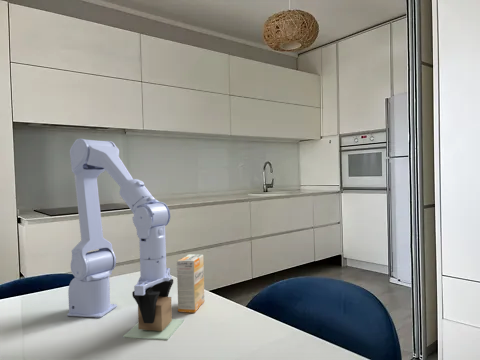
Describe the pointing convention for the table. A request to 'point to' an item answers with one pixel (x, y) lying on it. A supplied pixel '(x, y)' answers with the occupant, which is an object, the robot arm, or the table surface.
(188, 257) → the supplement box
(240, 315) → the table surface
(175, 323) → the sage pad
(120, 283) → the table surface
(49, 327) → the table surface
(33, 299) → the table surface
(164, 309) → the walnut block
